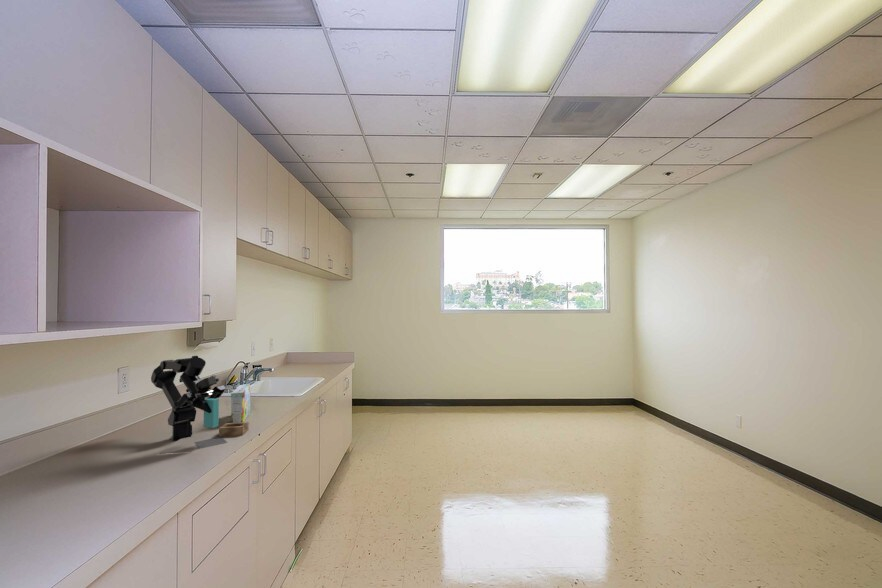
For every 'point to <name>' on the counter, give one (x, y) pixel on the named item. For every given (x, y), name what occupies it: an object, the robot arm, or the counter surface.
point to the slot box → (233, 429)
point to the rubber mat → (210, 442)
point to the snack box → (240, 403)
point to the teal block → (212, 413)
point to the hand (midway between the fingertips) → (213, 411)
